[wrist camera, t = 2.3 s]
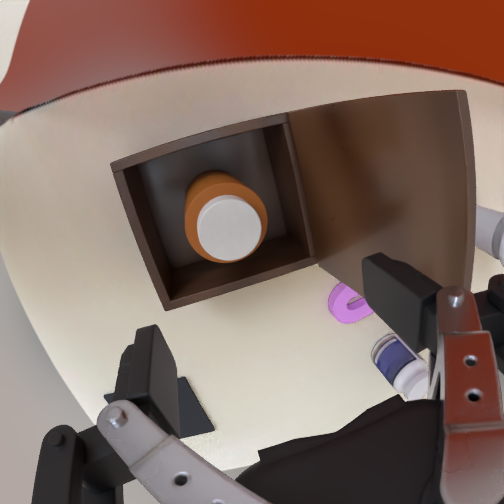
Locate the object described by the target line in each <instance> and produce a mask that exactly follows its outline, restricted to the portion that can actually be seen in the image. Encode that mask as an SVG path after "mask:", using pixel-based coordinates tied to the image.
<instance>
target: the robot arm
mask: <svg viewBox="0 0 504 504" xmlns="http://www.w3.org/2000/svg"><path fill="white" fill-rule="evenodd" d="M362 277H363V291H364V297H365V300H366V302H367V304H368V306H369V307H370V308H371V309H372V310H373V311H374V312H375V313H376V314H377V315H378V316H379V317H380V318H381V319H382V320H383V321H384V322H385V323H386V324H387V325H388V326H389V327H390V328H391V329H392V330H393V331H394V332H395V333H396V334H397V335H398V336H399V337H400V338H401V339H402V340H403V341H404V342H405V343H406V344H407V345H408V346H409V347H410V348H411V349H412V350H413V351H414V352H415V353H416V354H417V353H419V352H420V351H422V350H424V349H426V348H428V349H429V350H430V352H429V368H428V393H427V399H418V400H411V401H407V402H405V401H404V400H403V399H402V397H401V396H400V395H399V394H397V395H395V396H393V397H391V398H389V399H387V400H385V401H383V402H381V403H379V404H377V405H375V406H373V407H371V408H369V409H367V410H366V411H365V412H363V413H362V414H361V415H359V416H358V417H357V418H355V419H354V420H353V421H351V422H350V423H348V424H347V425H346V426H344V427H343V428H341V429H340V430H338V431H336V432H334V433H329V434H323V435H318V436H311V437H305V438H298V439H293V440H290V441H287V442H284V443H281V444H278V445H275V446H272V447H268V448H265V449H262V450H258V454H259V457H260V461H259V462H257V463H255V464H253V465H252V466H250V467H249V468H248V469H246V470H245V471H244V472H242V473H241V474H240V475H239V476H238V477H237V478H236V479H235V480H233V479H232V478H230V477H229V476H227V475H226V474H224V473H223V472H221V471H220V470H219V469H217V468H216V467H214V466H213V465H212V464H210V463H209V462H207V461H206V460H205V459H203V458H202V457H201V456H199V455H198V454H197V453H195V452H194V451H193V450H192V449H190V448H189V447H188V446H186V445H185V444H184V443H183V442H181V441H180V440H179V439H181V438H180V423H179V406H178V383H177V367H176V363H175V360H174V357H173V355H172V353H171V351H170V349H169V347H168V345H167V343H166V341H165V339H164V337H163V335H162V333H161V331H160V329H159V327H158V326H157V325H156V324H154V325H151V326H147V327H144V328H140V329H137V331H136V336H135V341H134V344H132V345H128V346H127V348H126V349H125V351H124V352H123V354H122V355H121V360H120V365H119V366H120V367H119V370H118V376H117V381H116V386H115V392H114V398H113V402H112V403H110V404H109V405H107V406H106V407H105V408H104V409H103V410H102V411H101V412H100V414H99V416H98V418H97V425H95V426H93V427H91V428H88V429H86V430H84V431H81V432H79V433H77V432H75V430H74V429H73V428H72V427H70V426H68V425H59V426H56V427H54V428H53V429H51V430H50V431H49V432H48V433H47V434H46V435H45V437H44V439H43V442H42V446H41V450H40V455H39V460H38V466H37V471H36V476H35V483H34V489H33V496H32V503H31V504H124V501H123V484H125V483H127V482H130V481H132V480H134V479H137V480H138V481H139V482H140V483H141V484H142V485H143V486H144V487H145V488H146V489H147V490H148V491H149V492H150V494H151V495H152V496H153V497H154V498H155V499H156V500H157V501H158V502H159V503H160V504H504V412H503V402H502V394H501V387H500V379H499V373H498V369H499V370H500V371H501V372H502V373H503V374H504V274H498V275H495V276H493V277H491V278H490V280H489V284H488V290H486V291H482V292H478V293H474V294H473V293H472V292H471V291H470V290H469V289H467V288H465V287H461V286H447V287H442V286H441V285H439V284H438V283H436V282H435V281H433V280H432V279H430V278H429V277H427V276H426V275H424V274H422V273H421V272H420V271H418V270H417V269H416V270H415V268H414V267H412V266H411V265H409V264H408V263H406V262H402V261H399V260H395V259H394V260H392V259H391V258H389V257H388V256H386V255H385V254H383V253H381V252H378V253H375V254H373V255H370V256H367V257H364V258H363V259H362Z"/></svg>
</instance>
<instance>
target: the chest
mask: <svg viewBox="0 0 504 504" xmlns="http://www.w3.org/2000/svg"><path fill="white" fill-rule="evenodd" d="M110 166H111V169H112V172H113V175H114V179H115V182H116V185H117V188H118V191H119V194H120V197H121V200H122V203H123V206H124V209H125V212H126V214H127V217H128V220H129V223H130V226H131V228H132V231H133V234H134V236H135V239H136V242H137V244H138V247H139V250H140V252H141V255H142V257H143V260H144V262H145V265H146V267H147V270H148V272H149V275H150V277H151V280H152V282H153V284H154V287H155V289H156V292H157V294H158V296H159V299H160V301H161V303H162V305H163V308H164V310H165V311H169V310H172V309H176V308H179V307H182V306H186V305H189V304H192V303H195V302H199V301H202V300H205V299H208V298H212V297H215V296H218V295H221V294H225V293H228V292H231V291H234V290H237V289H240V288H244V287H247V286H250V285H253V284H256V283H259V282H262V281H265V280H269V279H272V278H275V277H278V276H281V275H284V274H287V273H290V272H293V271H296V270H299V269H302V268H305V267H308V266H311V265H314V264H317V263H318V258H317V252H316V246H315V240H314V235H313V229H312V224H311V218H310V213H309V208H308V203H307V197H306V192H305V187H304V183H303V178H302V173H301V168H300V164H299V159H298V154H297V150H296V145H295V141H294V137H293V132H292V128H291V124H290V120H289V115H288V112H285V113H280V114H275V115H271V116H266V117H261V118H257V119H253V120H248V121H244V122H240V123H236V124H232V125H228V126H224V127H220V128H216V129H213V130H209V131H205V132H202V133H198V134H195V135H192V136H188V137H185V138H181V139H178V140H175V141H172V142H169V143H165V144H162V145H159V146H156V147H153V148H150V149H147V150H144V151H142V152H139V153H136V154H133V155H130V156H128V157H125V158H122V159H119V160H117V161H114V162H112V163H110ZM208 170H222V171H226V172H228V173H230V174H232V175H233V176H234V177H236V178H237V179H238V180H240V181H241V182H242V183H243V184H245V185H246V186H247V187H249V188H250V189H251V190H253V191H254V192H255V193H256V194H257V195H258V196H259V197H260V199H261V200H262V202H263V204H264V206H265V208H266V212H267V218H268V224H267V230H266V234H265V237H264V239H263V241H262V242H261V244H260V245H259V247H258V248H257V249H256V250H255V251H254V252H253V253H252V254H250V255H249V256H247V257H246V258H244V259H242V260H239V261H236V262H231V263H219V262H214V261H211V260H208V259H206V258H204V257H202V256H201V255H200V254H198V253H197V252H196V251H195V250H194V249H193V247H192V246H191V244H190V243H189V241H188V238H187V236H186V232H185V193H186V190H187V188H188V185H189V184H190V182H191V181H192V180H193V179H194V178H195V177H196V176H197V175H199V174H201V173H202V172H205V171H208Z"/></svg>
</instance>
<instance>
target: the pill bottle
mask: <svg viewBox="0 0 504 504" xmlns="http://www.w3.org/2000/svg"><path fill="white" fill-rule="evenodd" d="M372 361H373V363H374V364H375V365H376V367H377V368H378V369H379V370H380V372H381V373H382V374H383V375H384V377H385V378H386V379H387V380H388V382H389V383H390V384H391V385H392V387H393V388H394V389H395V390H396V391H397V392H400V393H404V396H405V397H406V398H407V400H408V401H411V400H418V399H421V398H422V397H424V396H425V395H426V394H427V393H428V371H427V370H428V366H427V363H426V362H425V360H424V359H423V358H422V357H421V356H420V355H419V354H418V353H417V354H416V353H415V352H414V351H413V350H412V349H411V348H410V347H409V346H408V345H407V344H406V343H405V342H404V341H403V340H402V339H401V338H400V337H399V336H398V335H397V334H391V335H388V336H386V337H384V338H382V339H381V340H380V341H379V342H378V343H377V344H376V346H375V347H374V349H373V351H372Z"/></svg>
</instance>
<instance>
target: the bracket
mask: <svg viewBox="0 0 504 504" xmlns="http://www.w3.org/2000/svg"><path fill="white" fill-rule="evenodd" d="M357 295H359V294H358V293H356V292H355V291H354V290H352V289H351V288H349V287H348V286H347V285H345V284H344V283H342V282H341V283H339V284H338V285H337V286H336V287H335V288H334V289H333V291H332V293H331V295H330V297H329V302H328V306H329V310H330V312H331V313H332V314H333V316H334V317H335V318H336V319H337V320H338V321H339V322H341V323H346V324H347V323H353V322H356V321H358V320H360V319H362V318H364V317H366V316H367V315H369V314H371V313H373V312H374V311H373V310H372V309H371V308H370V307H369V306H368V304H367V302H366V300H365V298H361V299H359V300H357V301H355V302H353V303H351V304H349V305H347V303H348V301H349V300H350V299H351V298H353V297H355V296H357Z"/></svg>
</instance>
